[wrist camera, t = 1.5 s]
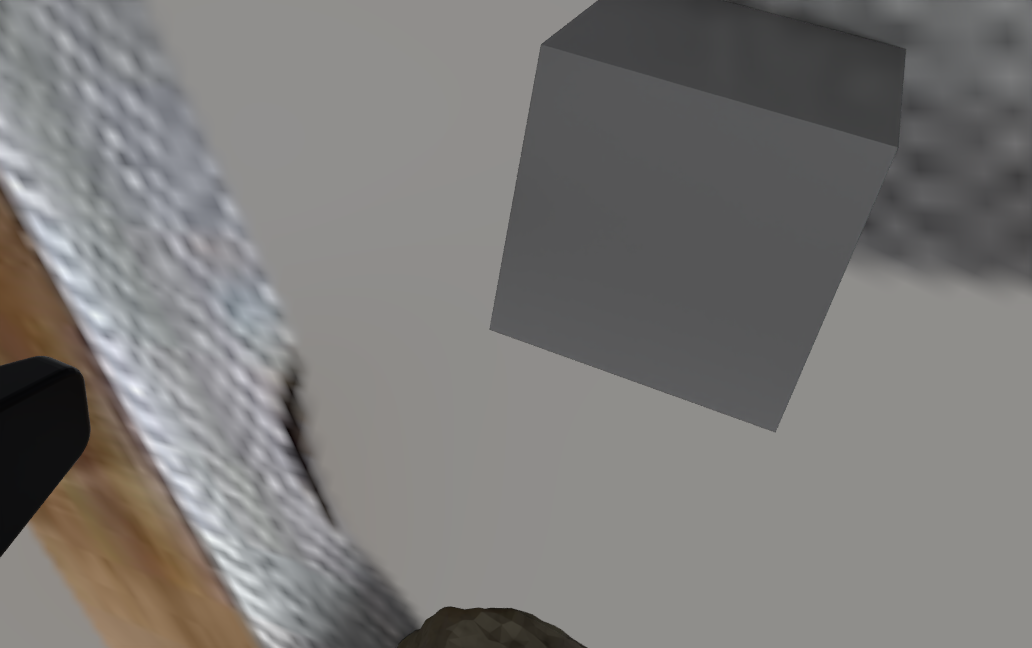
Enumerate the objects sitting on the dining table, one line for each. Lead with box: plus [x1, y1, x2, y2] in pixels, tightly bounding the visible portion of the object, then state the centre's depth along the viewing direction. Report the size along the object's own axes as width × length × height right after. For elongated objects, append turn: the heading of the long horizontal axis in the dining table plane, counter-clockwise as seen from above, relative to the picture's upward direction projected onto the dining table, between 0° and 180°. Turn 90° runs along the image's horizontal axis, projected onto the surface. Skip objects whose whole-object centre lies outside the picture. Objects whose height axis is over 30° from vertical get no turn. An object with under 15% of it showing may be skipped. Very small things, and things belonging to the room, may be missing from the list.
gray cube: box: [490, 0, 906, 432], centre depth 16 cm, size 5×5×5 cm
